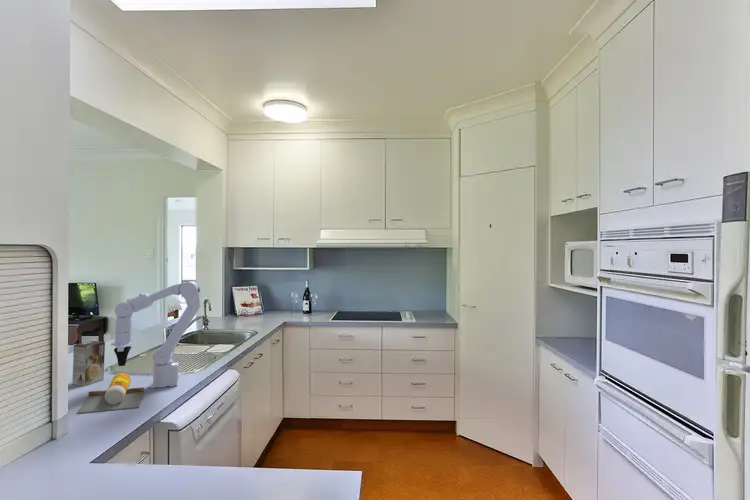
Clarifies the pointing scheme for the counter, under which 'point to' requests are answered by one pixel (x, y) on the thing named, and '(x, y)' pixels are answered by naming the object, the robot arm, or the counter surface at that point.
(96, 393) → the bar
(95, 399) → the mat
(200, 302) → the robot arm
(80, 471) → the counter surface
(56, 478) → the counter surface
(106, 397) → the beer can
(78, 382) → the coffee box
